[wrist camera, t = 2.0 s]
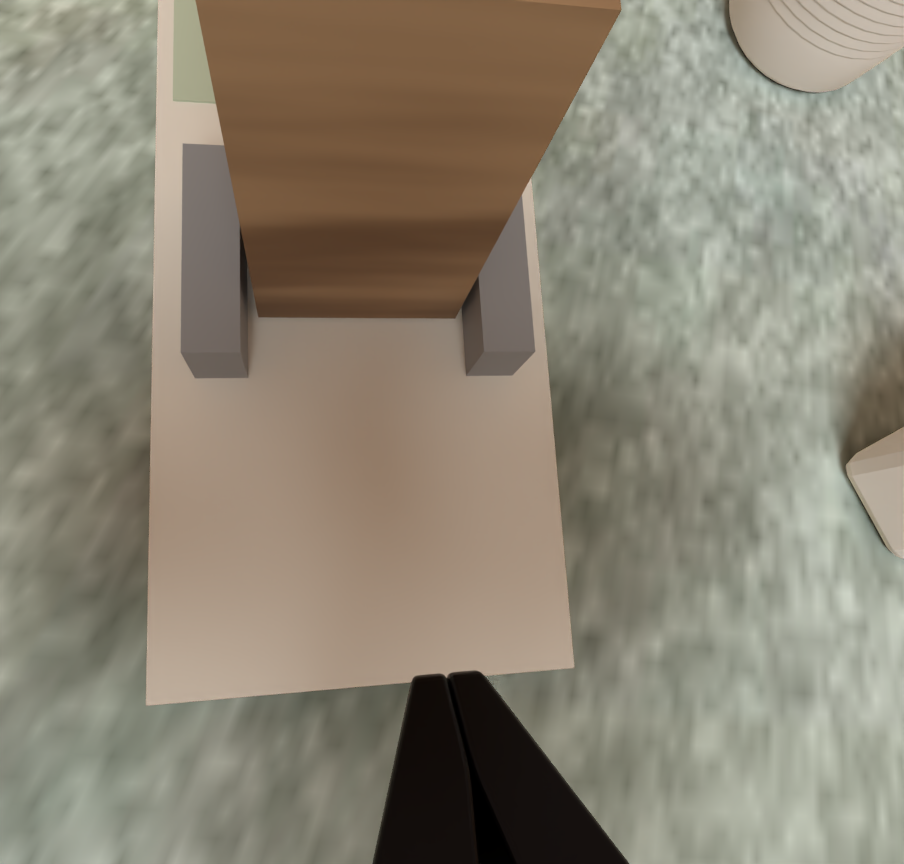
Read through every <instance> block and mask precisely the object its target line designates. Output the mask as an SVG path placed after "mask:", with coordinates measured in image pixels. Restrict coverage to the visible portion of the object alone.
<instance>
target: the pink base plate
mask: <svg viewBox="0 0 904 864" xmlns="http://www.w3.org/2000/svg"><path fill="white" fill-rule="evenodd" d="M567 668H574V656H573V645H572V634H571V622H570V611H569V600H568V588H567V577H566V566H565V554H564V543H563V532H562V520H561V509H560V498H559V486H558V475H557V464H556V452H555V441H554V430H553V418H552V407H551V396H550V384H549V373H548V362H547V350H546V339H545V328H544V316H543V305H542V294H541V283H540V271H539V260H538V249H537V237H536V226H535V215H534V203H533V192H532V181H531V179H530V181H529V182H528V184H527V186H526V188H525V190H524V192H523V194H522V195H521V197H520V199H519V201H518V203H517V205H516V207H515V208H514V210H513V212H512V214H511V216H510V218H509V219H508V221H507V223H506V225H505V227H504V229H503V231H502V232H501V234H500V236H499V238H498V240H497V242H496V244H495V245H494V247H493V249H492V251H491V253H490V255H489V257H488V258H487V260H486V262H485V264H484V266H483V268H482V270H481V271H480V273H479V275H478V277H477V279H476V281H475V283H474V284H473V286H472V288H471V290H470V292H469V294H468V296H467V297H466V299H465V301H464V303H463V305H462V307H461V309H460V310H459V312H458V314H457V316H456V318H455V319H440V318H270V317H258V314H257V309H256V303H255V298H254V293H253V288H252V283H251V278H250V273H249V268H248V263H247V258H246V253H245V248H244V243H243V238H242V233H241V228H240V223H239V218H238V213H237V208H236V203H235V198H234V193H233V187H232V182H231V177H230V172H229V167H228V162H227V157H226V152H225V147H224V142H223V137H222V132H221V127H220V122H219V117H218V112H217V107H216V102H215V97H214V92H213V87H212V82H211V77H210V71H209V66H208V61H207V56H206V51H205V46H204V41H203V36H202V31H201V26H200V21H199V16H198V11H197V6H196V1H195V0H158V41H157V99H156V156H155V213H154V271H153V328H152V386H151V443H150V501H149V558H148V616H147V673H146V706H148V705H160V704H171V703H182V702H194V701H205V700H216V699H228V698H239V697H250V696H261V695H273V694H284V693H295V692H307V691H318V690H329V689H341V688H352V687H363V686H375V685H386V684H397V683H409V682H411V681H412V679H413V677H415V676H417V675H426V674H437V673H440V674H443V675H445V676H446V678H447V676H448V674H449V673H452V672H460V671H471V670H477V671H479V672H481V673H482V674H483V675H484V676H488V675H499V674H511V673H522V672H533V671H545V670H556V669H567Z"/></svg>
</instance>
